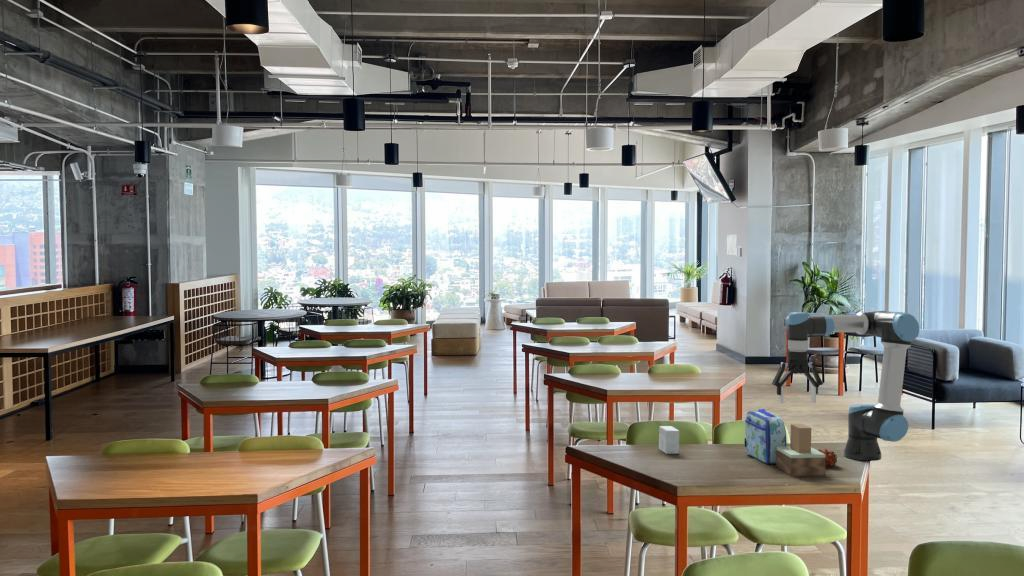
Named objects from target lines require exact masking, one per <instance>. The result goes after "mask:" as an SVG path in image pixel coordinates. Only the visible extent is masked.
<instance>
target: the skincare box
mask: <svg viewBox="0 0 1024 576" xmlns="http://www.w3.org/2000/svg"><path fill="white" fill-rule="evenodd" d="M658 428H659V429H658V430H659V431H658V434H659V436H658V449H659V450H660V451H661V452H663V453H664V454H667V455H668V454H671V455H672V454H673V455H674V454H680V430H679V429H677V428H676V427H674V426H673V425H672V426H671V425H660V426H659V427H658Z"/></svg>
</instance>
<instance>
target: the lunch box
mask: <svg viewBox="0 0 1024 576" xmlns="http://www.w3.org/2000/svg"><path fill="white" fill-rule="evenodd" d="M745 417H746V418H745V419H744V422H745V423H744V424H745V425H744V426H745V438H744V448H746V452H747V455H748V456H750V457H752V458H754V459H756V460H759V461H760V462H761V463H763V464H765V465H768V464H770V465H774V464H775V465H776V458H777V447H788V445H787V431H786V430H787V429H786V425H785V422H784V419H782V417H780V416H778V415H776V414H775V413H773V412H770V411H767V410H766V409H765V408H759V409H758V410H753V411H752V410H751V411H747V413H746V416H745Z"/></svg>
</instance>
